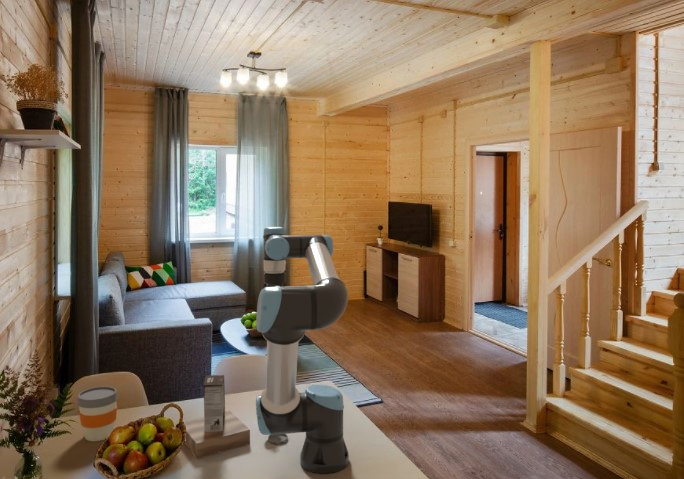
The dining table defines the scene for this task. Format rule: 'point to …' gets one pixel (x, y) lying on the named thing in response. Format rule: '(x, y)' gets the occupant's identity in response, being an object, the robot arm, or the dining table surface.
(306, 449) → the robot arm
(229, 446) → the walnut plinth
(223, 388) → the coffee box
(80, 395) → the reusable coffee cup
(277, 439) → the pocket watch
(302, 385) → the dining table surface
